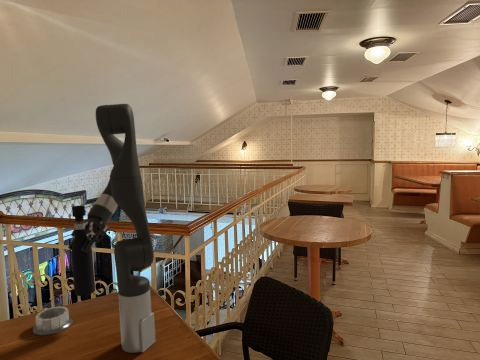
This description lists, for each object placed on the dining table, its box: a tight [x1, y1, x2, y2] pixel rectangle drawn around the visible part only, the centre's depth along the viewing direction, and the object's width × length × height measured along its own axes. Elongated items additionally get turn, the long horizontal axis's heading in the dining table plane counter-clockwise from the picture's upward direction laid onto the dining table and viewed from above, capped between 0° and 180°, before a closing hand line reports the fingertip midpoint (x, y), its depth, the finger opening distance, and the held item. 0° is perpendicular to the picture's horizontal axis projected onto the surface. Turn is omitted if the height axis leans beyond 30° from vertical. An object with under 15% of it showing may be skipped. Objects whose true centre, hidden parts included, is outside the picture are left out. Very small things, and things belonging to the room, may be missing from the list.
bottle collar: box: [32, 305, 74, 337], centre depth 114 cm, size 12×12×5 cm
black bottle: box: [70, 204, 96, 297], centre depth 113 cm, size 6×6×30 cm
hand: (77, 250), depth 111 cm, fingers closed on black bottle, 6 cm apart
